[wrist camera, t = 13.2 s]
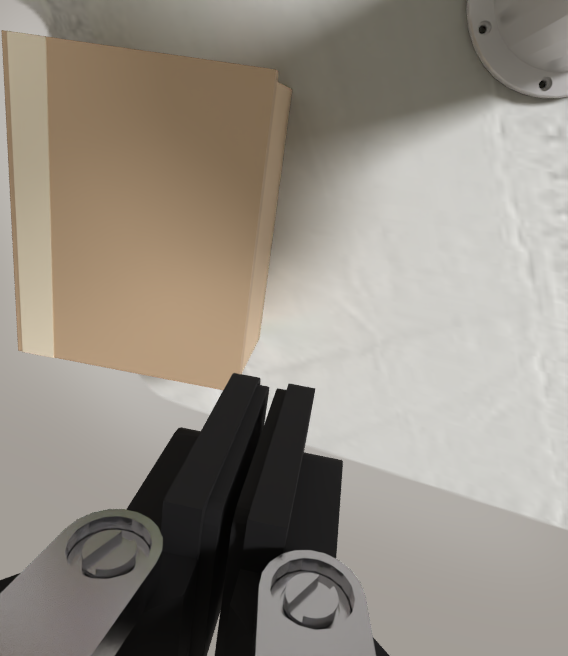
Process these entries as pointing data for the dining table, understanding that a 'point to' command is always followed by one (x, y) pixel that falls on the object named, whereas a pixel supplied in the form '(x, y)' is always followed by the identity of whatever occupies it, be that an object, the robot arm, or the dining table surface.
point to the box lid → (135, 204)
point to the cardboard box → (267, 216)
